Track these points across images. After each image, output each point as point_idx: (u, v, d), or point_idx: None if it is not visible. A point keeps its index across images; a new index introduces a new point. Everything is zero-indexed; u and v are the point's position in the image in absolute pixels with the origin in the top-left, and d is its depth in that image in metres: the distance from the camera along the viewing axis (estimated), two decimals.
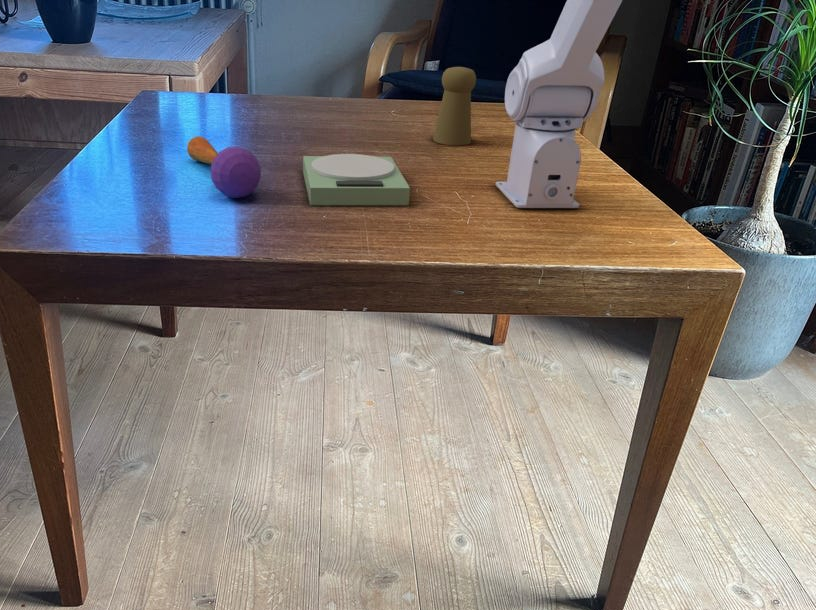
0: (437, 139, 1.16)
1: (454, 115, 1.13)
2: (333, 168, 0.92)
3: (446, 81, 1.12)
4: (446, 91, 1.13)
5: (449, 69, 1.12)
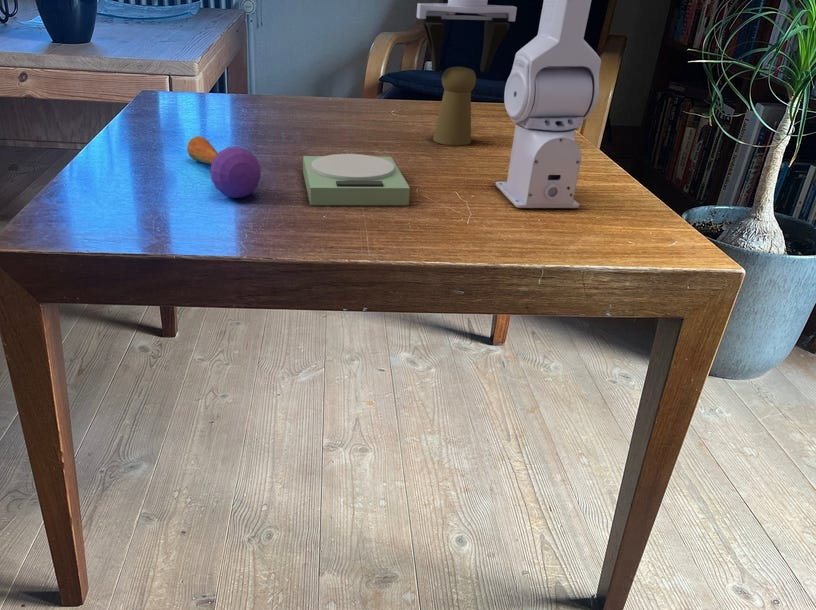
0: (437, 139, 1.16)
1: (454, 115, 1.13)
2: (333, 168, 0.92)
3: (446, 81, 1.12)
4: (446, 91, 1.13)
5: (449, 69, 1.12)
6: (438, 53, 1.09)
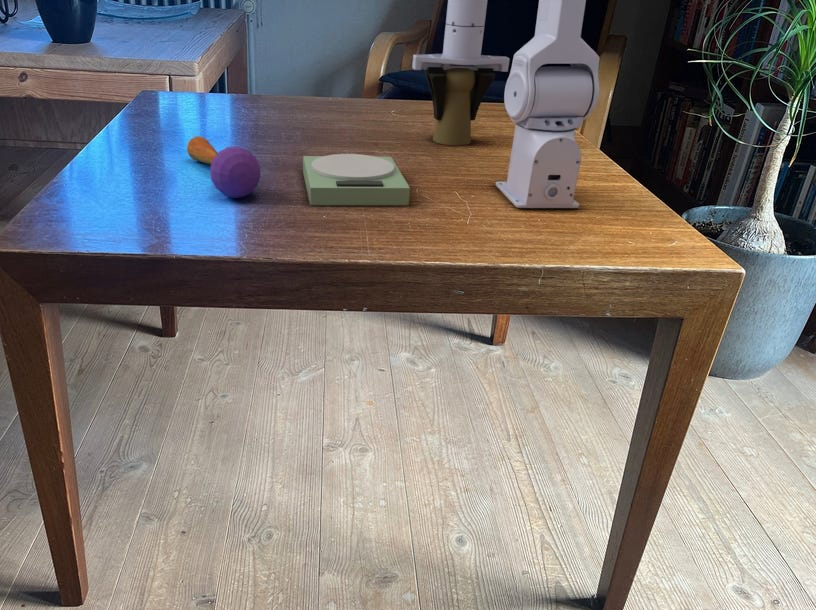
0: (437, 139, 1.16)
1: (454, 115, 1.13)
2: (333, 168, 0.92)
3: (446, 81, 1.12)
4: (446, 91, 1.13)
5: (449, 69, 1.12)
6: (440, 102, 1.13)
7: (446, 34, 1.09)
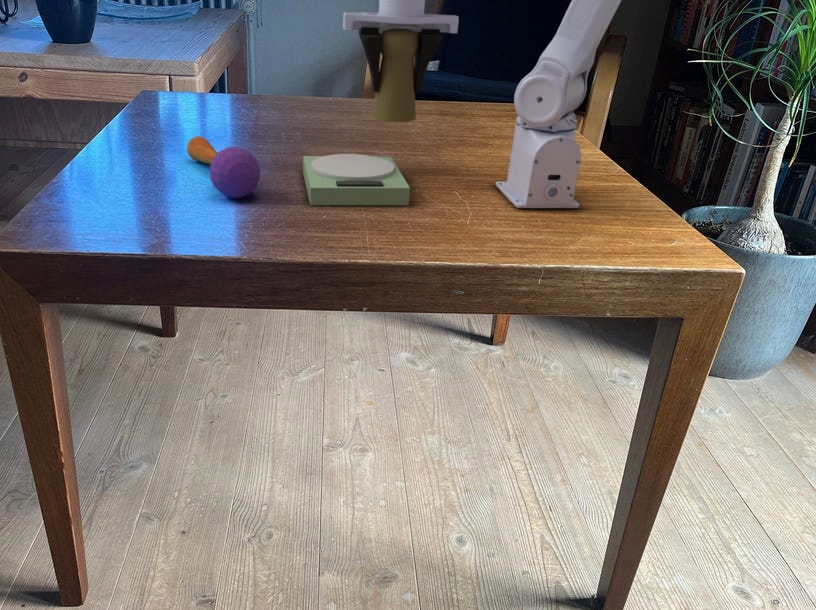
0: (375, 115, 0.98)
1: (393, 85, 0.95)
2: (333, 168, 0.92)
3: (383, 44, 0.93)
4: (384, 57, 0.95)
5: (386, 30, 0.93)
6: (377, 70, 0.95)
7: None
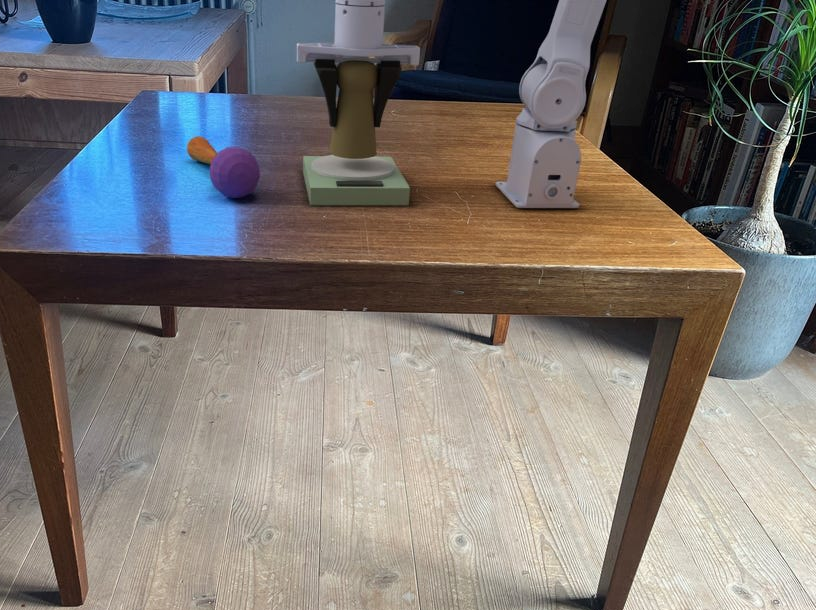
0: (333, 151, 0.92)
1: (351, 120, 0.89)
2: (333, 168, 0.92)
3: (339, 77, 0.87)
4: (340, 90, 0.89)
5: (343, 62, 0.87)
6: (333, 104, 0.88)
7: (336, 16, 0.84)
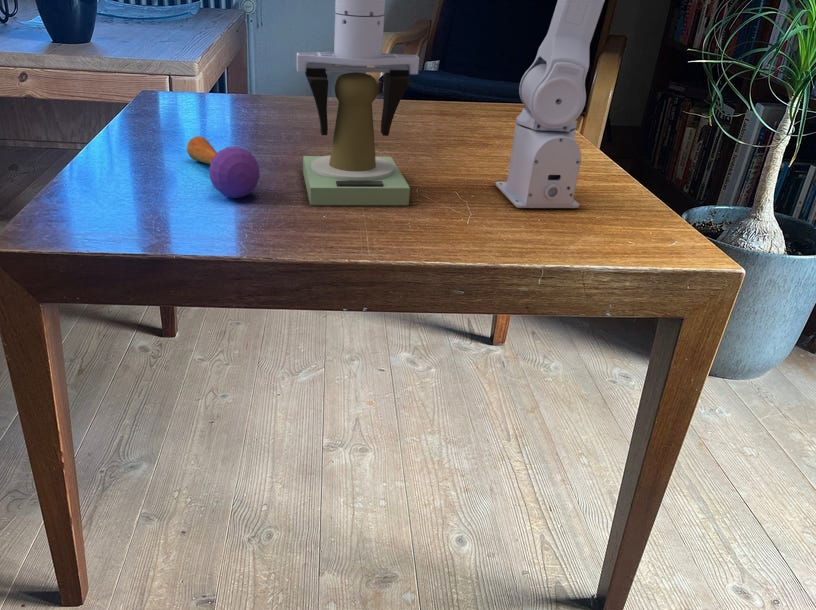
0: (332, 163, 0.92)
1: (350, 133, 0.90)
2: (333, 168, 0.92)
3: (339, 91, 0.88)
4: (340, 103, 0.89)
5: (342, 75, 0.88)
6: (324, 113, 0.89)
7: (335, 26, 0.85)
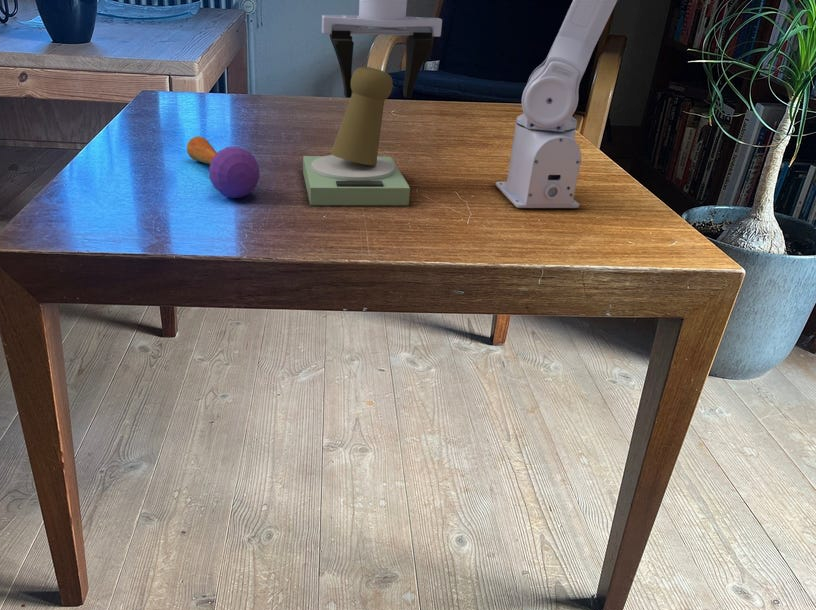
0: (335, 152, 0.92)
1: (359, 124, 0.90)
2: (333, 168, 0.92)
3: (355, 80, 0.89)
4: (354, 94, 0.90)
5: (361, 67, 0.89)
6: (349, 75, 0.91)
7: None
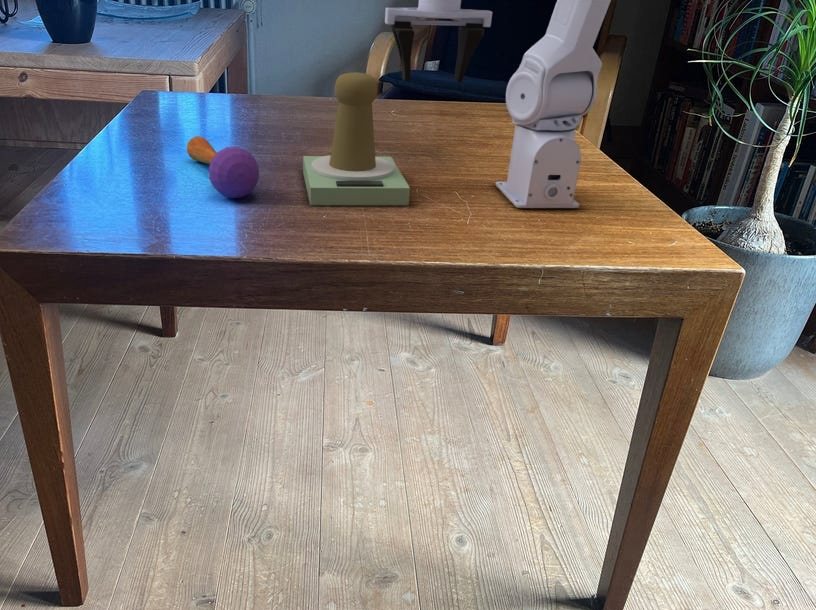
0: (332, 163, 0.92)
1: (350, 133, 0.90)
2: (333, 168, 0.92)
3: (339, 91, 0.88)
4: (340, 103, 0.89)
5: (342, 75, 0.88)
6: (408, 61, 1.02)
7: None
